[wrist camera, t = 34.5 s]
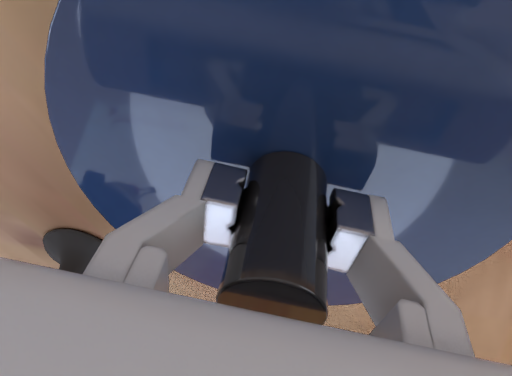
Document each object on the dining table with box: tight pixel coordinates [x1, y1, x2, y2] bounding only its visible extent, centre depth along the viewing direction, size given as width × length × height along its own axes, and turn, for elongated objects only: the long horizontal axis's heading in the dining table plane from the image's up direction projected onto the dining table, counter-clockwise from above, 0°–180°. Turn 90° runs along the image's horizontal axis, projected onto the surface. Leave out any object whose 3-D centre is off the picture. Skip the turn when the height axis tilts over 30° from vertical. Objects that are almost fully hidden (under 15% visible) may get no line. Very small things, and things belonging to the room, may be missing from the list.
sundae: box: [43, 229, 102, 274], centre depth 17 cm, size 7×7×15 cm
